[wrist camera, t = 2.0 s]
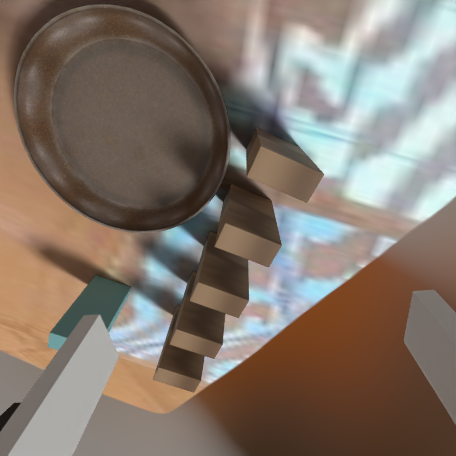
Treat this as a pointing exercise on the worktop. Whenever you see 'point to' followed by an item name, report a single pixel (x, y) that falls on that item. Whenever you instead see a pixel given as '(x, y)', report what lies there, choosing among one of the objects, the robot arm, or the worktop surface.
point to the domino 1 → (91, 308)
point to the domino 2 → (248, 227)
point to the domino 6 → (281, 166)
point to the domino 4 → (198, 326)
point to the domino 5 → (179, 363)
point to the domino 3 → (221, 280)
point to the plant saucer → (122, 118)
